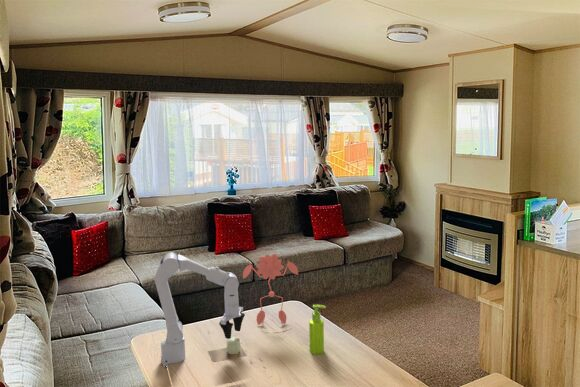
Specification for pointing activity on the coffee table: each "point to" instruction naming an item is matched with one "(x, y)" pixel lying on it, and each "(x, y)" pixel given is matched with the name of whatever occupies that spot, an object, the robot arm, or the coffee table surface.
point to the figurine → (270, 269)
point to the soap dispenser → (316, 331)
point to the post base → (224, 354)
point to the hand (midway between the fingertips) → (232, 334)
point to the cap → (233, 345)
